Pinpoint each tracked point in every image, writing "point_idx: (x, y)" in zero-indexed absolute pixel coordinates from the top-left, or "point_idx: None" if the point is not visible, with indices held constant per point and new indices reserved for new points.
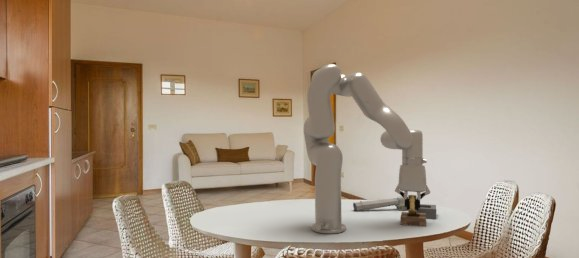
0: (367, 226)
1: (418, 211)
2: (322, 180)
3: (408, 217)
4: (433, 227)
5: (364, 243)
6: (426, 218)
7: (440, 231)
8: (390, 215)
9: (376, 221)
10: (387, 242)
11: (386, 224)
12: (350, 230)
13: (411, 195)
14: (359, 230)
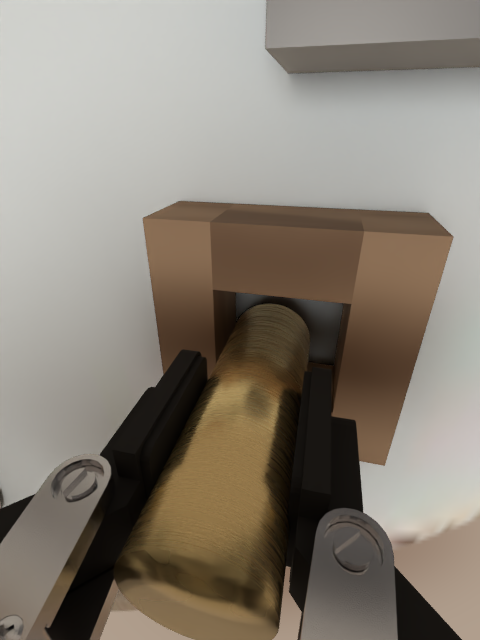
0: (38, 426)
1: (370, 56)
2: None
3: None
4: (435, 428)
5: (119, 591)
6: (476, 65)
7: (455, 506)
8: (31, 24)
9: (28, 317)
10: None
11: (109, 382)
12: (11, 481)
13: (176, 604)
14: (40, 482)
